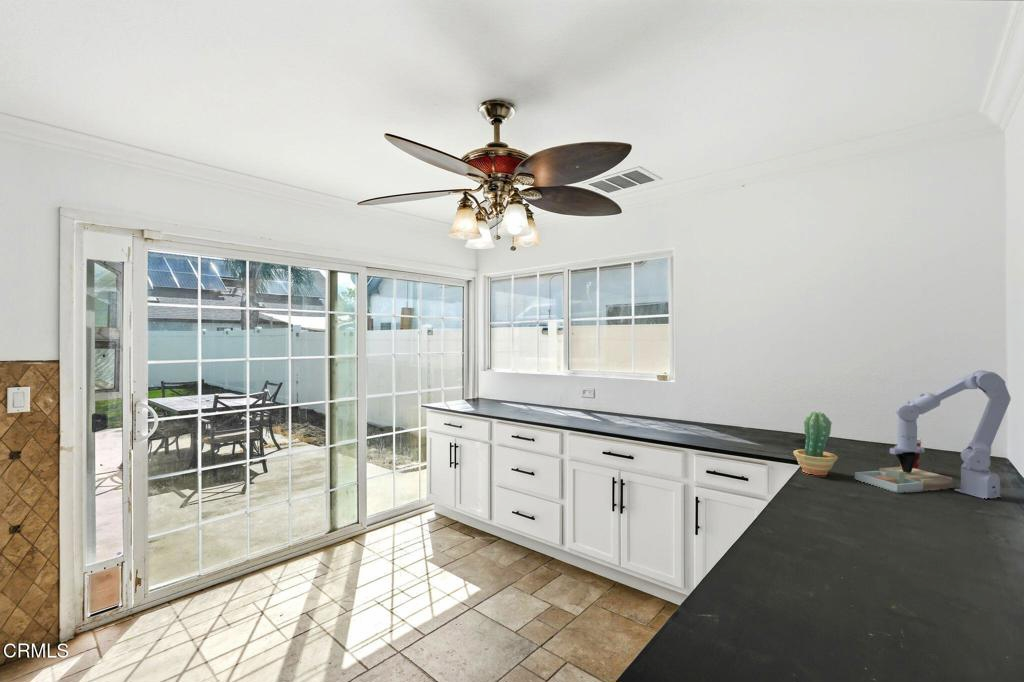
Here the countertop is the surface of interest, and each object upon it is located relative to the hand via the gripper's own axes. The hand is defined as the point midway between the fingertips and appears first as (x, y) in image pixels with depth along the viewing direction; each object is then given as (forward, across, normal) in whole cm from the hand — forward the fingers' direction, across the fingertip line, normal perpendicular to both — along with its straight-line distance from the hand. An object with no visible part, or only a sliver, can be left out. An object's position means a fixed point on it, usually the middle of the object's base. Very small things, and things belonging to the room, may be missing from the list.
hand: (906, 472), depth 178 cm
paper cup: (+5, -20, -14) cm, 25 cm away
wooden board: (+4, -4, 0) cm, 6 cm away
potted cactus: (+5, +22, -19) cm, 30 cm away
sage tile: (+1, +5, 0) cm, 5 cm away
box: (+4, +9, 0) cm, 10 cm away
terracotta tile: (+1, +11, 0) cm, 11 cm away
